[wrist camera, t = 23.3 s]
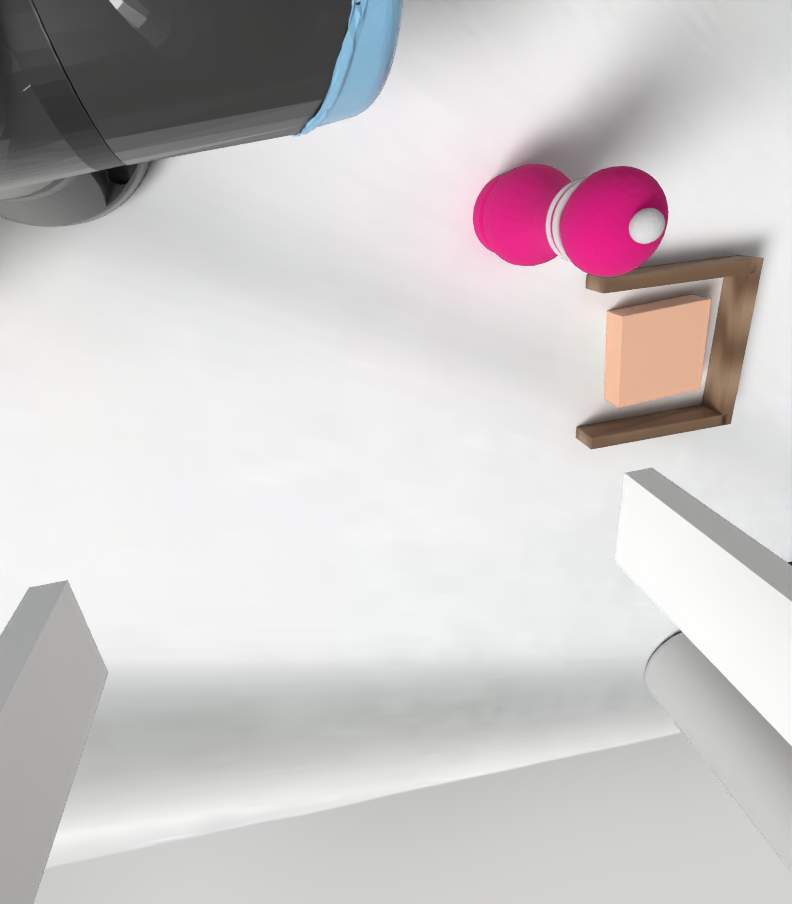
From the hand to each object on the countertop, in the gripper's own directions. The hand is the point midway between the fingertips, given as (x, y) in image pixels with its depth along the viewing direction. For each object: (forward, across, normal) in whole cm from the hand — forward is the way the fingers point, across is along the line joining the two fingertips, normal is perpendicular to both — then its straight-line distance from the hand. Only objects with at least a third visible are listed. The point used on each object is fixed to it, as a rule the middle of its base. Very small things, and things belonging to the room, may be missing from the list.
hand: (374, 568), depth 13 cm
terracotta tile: (+37, +34, -9) cm, 51 cm away
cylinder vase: (+37, +45, -55) cm, 80 cm away
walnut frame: (+37, +34, -9) cm, 51 cm away
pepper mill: (+37, +19, +5) cm, 42 cm away
